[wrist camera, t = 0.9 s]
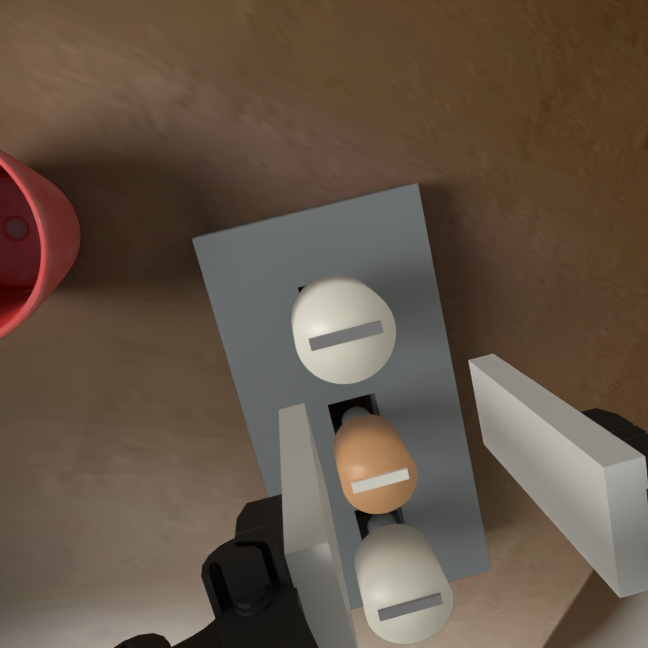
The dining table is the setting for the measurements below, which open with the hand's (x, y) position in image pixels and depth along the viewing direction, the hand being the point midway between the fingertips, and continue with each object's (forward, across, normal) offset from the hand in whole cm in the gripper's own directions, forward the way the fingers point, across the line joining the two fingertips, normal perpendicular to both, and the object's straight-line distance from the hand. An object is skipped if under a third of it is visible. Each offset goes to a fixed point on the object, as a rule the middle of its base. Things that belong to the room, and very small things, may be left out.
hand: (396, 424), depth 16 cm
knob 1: (+19, 0, 0) cm, 19 cm away
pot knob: (+19, 0, -8) cm, 20 cm away
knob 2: (+19, 0, -16) cm, 25 cm away
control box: (+23, 0, -8) cm, 24 cm away
